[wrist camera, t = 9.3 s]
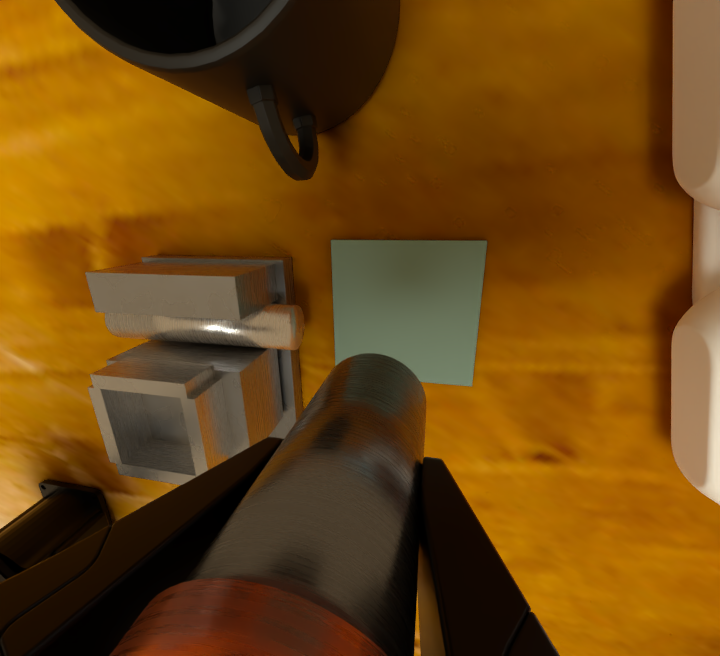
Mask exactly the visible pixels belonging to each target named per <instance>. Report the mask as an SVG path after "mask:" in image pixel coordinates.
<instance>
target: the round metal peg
mask: <svg viewBox="0 0 720 656" xmlns="http://www.w3.org/2000/svg"><path fill="white" fill-rule="evenodd" d="M425 422H426V397H425V393H424V390H423V387H422V385H421V383H420V381H419V380H418V378H417V376H416V375H415V374H414V373H413V372H412V371H411V370H410V369H409V368H408V367H407V366H406V365H404V364H403V363H401V362H400V361H398V360H396V359H394V358H392V357H389V356H386V355H382V354H376V353H364V354H358V355H354V356H351V357H349V358H346V359H345V360H343V361H341V362H340V363H339V364H338V365H336V366H335V367H334V369H333V370H332V371H331V372H330V374H329V375H328V377H327V378H326V380H325V381H324V382H323V384H322V385H321V387H320V388H319V390H318V391H317V393H316V394H315V395H314V397H313V398H312V400H311V401H310V403H309V404H308V405H307V407H306V408H305V410H304V411H303V413H302V414H301V415H300V417H299V418H298V420H297V421H296V423H295V424H294V425H293V427H292V428H291V430H290V431H289V433H288V434H287V436H286V437H285V438H284V440H283V441H282V443H281V444H280V446H279V447H278V448H277V450H276V451H275V453H274V454H273V456H272V457H271V458H270V460H269V461H268V463H267V464H266V466H265V467H264V469H263V470H262V471H261V473H260V474H259V476H258V477H257V479H256V480H255V481H254V483H253V484H252V486H251V487H250V489H249V490H248V491H247V493H246V494H245V496H244V497H243V499H242V500H241V502H240V503H239V504H238V506H237V507H236V509H235V510H234V512H233V513H232V514H231V516H230V517H229V519H228V520H227V522H226V523H225V524H224V526H223V527H222V529H221V530H220V532H219V533H218V534H217V536H216V537H215V539H214V540H213V542H212V543H211V545H210V546H209V547H208V549H207V550H206V552H205V553H204V555H203V556H202V557H201V559H200V560H199V562H198V563H197V565H196V566H195V567H194V569H193V570H192V572H191V573H190V575H189V576H188V578H187V579H186V580H185V582H183V583H180V584H177V585H175V586H172V587H169V588H168V589H166V590H164V591H163V592H161V593H159V594H158V595H157V596H156V597H155V598H153V599H152V600H151V601H150V602H149V603H148V605H147V606H146V607H145V609H144V610H143V611H142V613H141V614H140V615H139V617H138V618H137V619H136V621H135V622H134V623H133V625H132V626H131V627H130V629H129V630H128V631H127V633H126V634H125V635H124V637H123V638H122V639H121V641H120V642H119V643H118V645H117V646H116V647H115V649H114V650H113V651H112V653H111V654H110V655H109V656H414V641H415V621H416V601H417V581H418V561H419V541H420V498H421V480H422V462H423V458H424V442H425Z"/></svg>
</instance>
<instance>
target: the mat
mask: <svg viewBox="0 0 720 656" xmlns="http://www.w3.org/2000/svg"><path fill="white" fill-rule="evenodd" d="M486 249H487V241H486V240H331V258H332V285H333V311H334V338H335V365H338V364H339V363H340V362H341V361H343V360H345V359H346V358H349V357H351V356H354V355H358V354H364V353H376V354H382V355H386V356H389V357H392V358H394V359H396V360H398V361H400V362H401V363H403V364H404V365H406V366H407V367H408V368H409V369H410V370H411V371H412V372H413V373H414V374H415V375H416V376H417V378H418V380H419V381H420V382H428V383H440V384H451V385H463V386H472V381H473V372H474V362H475V353H476V343H477V334H478V325H479V315H480V306H481V296H482V287H483V277H484V268H485V258H486Z"/></svg>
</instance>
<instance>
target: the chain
mask: <svg viewBox="0 0 720 656" xmlns="http://www.w3.org/2000/svg"><path fill="white" fill-rule="evenodd" d="M672 160H673V169H674V174H675V177H676V179H677V181H678V183H679V184H680V186H681V187H682V188H683V189H684V191H685V192H686V193H687V194H689V195H690V196H691V197H692V198H694V224H693V272H692V303H693V306H692V307H691V308H690V309H689V310H688V311H687V312H686V313H685V314H684V315H683V316H682V318H681V319H680V320H679V322H678V323H677V325H676V327H675V329H674V331H673V335H672V344H671V445H672V452H673V455H674V458H675V461H676V463H677V465H678V467H679V469H680V470H681V472H682V473H683V475H684V476H685V477H686V478H687V480H688V481H689V482H690V483H691V484H692V485H693V486H694V487H696V488H697V489H698V490H699V491H700V492H701V493H703V494H704V495H705V496H707V497H708V498H710V499H711V500H713V501H714V502H716V503H718V504H720V0H673V93H672Z"/></svg>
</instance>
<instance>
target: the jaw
mask: <svg viewBox="0 0 720 656" xmlns="http://www.w3.org/2000/svg"><path fill="white" fill-rule="evenodd" d="M106 361H107V365H108V366H107V367H104V368H102V369H100V370H98V371H96V372H94V373H92V374H90V377H91V380H92V383H93V385H91V386H89V387H88V390H89V394H90V397H91V400H92V404H93V407H94V410H95V414H96V417H97V420H98V424H99V427H100V430H101V434H102V437H103V440H104V444H105V447H106V450H107V454H108V457H109V460H110V462H112V463H116V465H117V469H118V472H119V474H120V475H126V476H131V477H137V478H143V479H149V480H155V481H161V482H166V483H172V484H178V485H183V484H184V483H186V482H188V481H190V480H191V479H193V478H195V477H197V476H199V475H200V474H202V473H204V472H206V471H208V470H209V469H211V468H213V467H215V466H217V465H218V464H220V463H222V462H224V461H226V460H227V459H228V456H231V457H233V456H234V455H236V454H238V453H240V452H242V451H243V450H245V449H247V448H249V447H251V446H252V445H254V444H256V443H258V442H260V441H261V440H263V439H265V438H267V437H269V435H270V434H271V433H272V431H273V430H274V429H275V427H276V426H277V425H278V423H279V422H280V421H281V419H282V418H283V407H282V397H281V387H280V376H279V366H278V355H277V349H271V348H258V347H245V346H231V345H218V344H204V343H191V342H178V341H164V340H150V341H148V342H146V343H143V344H141V345H139V346H137V347H135V348H132V349H130V350H128V351H126V352H124V353H121V354H119V355H117V356H115V357H112V358H110V359H108V360H106Z"/></svg>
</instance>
